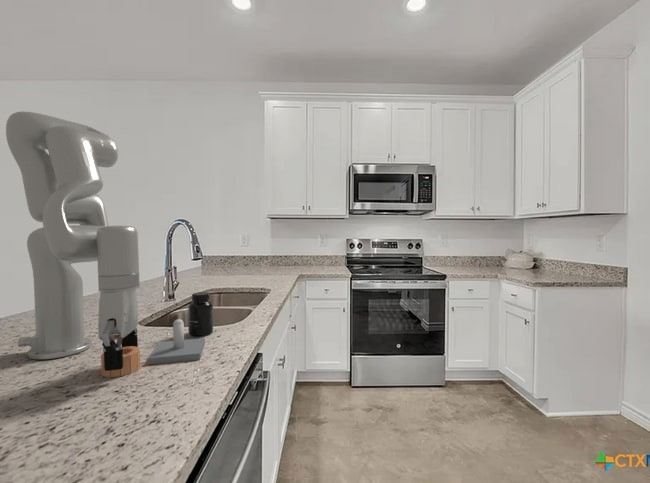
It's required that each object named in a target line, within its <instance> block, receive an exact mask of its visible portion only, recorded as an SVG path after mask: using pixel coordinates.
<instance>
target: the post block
mask: <svg viewBox="0 0 650 483" xmlns="http://www.w3.org/2000/svg"><path fill="white" fill-rule="evenodd" d="M172 328H173V330H172V332H173V333H172V337H173V338H172V339H173V340H167V341H160V342H159V343H158V344H157V346H155V348H154V350H153V351H152V353H151V354H150V355H149V357H148V360H147V361H148V362H147V363H148V364H147V365H148V366H149V365H150V366H151V365H159V364H160V365H161V364H168V363H169V364H170V363H179V362H188V361H189V362H191V361H198V360H201V358H202V354H203V351H204V347H205V345H206V339H205V338H191V339H190V338H189V339H185V323H184V321H183V320H182V319H180V318H178V319H175V320H174V321H173V323H172Z"/></svg>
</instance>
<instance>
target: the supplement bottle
mask: <svg viewBox="0 0 650 483" xmlns="http://www.w3.org/2000/svg"><path fill="white" fill-rule="evenodd" d="M210 299H211V298H210V292H208V291H207V292H206V291H200V292H198V291H197V292H194V293H192V294H191V301H192V302H190V303H189V305H188V306H187V307H188V311H187V312H188V314H187V316H188V318H187V319H188V320H187V321H188V324H187V325H188V326H187V327H188V335H189V336H190V337H193V338H200V337H206V336H210V335H211V334H212V333H213V332H214V304H213V303H212V301H210Z"/></svg>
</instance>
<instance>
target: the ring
mask: <svg viewBox="0 0 650 483" xmlns="http://www.w3.org/2000/svg"><path fill="white" fill-rule="evenodd" d="M120 349H123V368H122V369H119V370H110V371H105V369H104V352H103V353H102V354H101V355H100V366H101V367H100V370H101V373H100V374H101V375H102V377H105V378H119V377H123V376H127V375H130V374H133V373H134V372H137V371H138V370H139V369H140V368H141V348H140V347H139V346H138V347H135V346H126V347H122V346H121V348H120Z"/></svg>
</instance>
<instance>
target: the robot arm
mask: <svg viewBox="0 0 650 483" xmlns="http://www.w3.org/2000/svg"><path fill="white" fill-rule="evenodd" d="M5 136H6V137H5V138H6V140H7V141H6V142H7V145H8V148H9V150H10V153H11V155H12V156H13V159H14V160H15V162H16V164H17V166H18V168H19V170H20V173H21V179H22V184H23V189H24V193H25V199H26V204H27V207H28V208H27V209H28V211H29V212H28V213H29V214H30V216H31V217H32V219H34V220H35V221H36V222H39V223H42V227H39V228H37V229H35V230H33V231H32V232H31V233H29V235H28V237H27V241H26V247H27V252H28V256H29V259H30V264H31V268H32V277H33V292H34V294H33V295H34V319H35V321H34V322H35V324H34V325H35V335H33V336H29V335H28V336H20V337H19V338H18V343H17V345H18V347H19V348H20V347H29V348H30V349H29V350H28V352H27V357H28V358H29V359H32V360H50V359H58V358H63V357H64V358H65V357H68V356H72V355H76V354H78V353H81V352H84V351H86V350H88V349H90V348H91V346H92V343H93V342H92V341H93V340H92V339H91V338H87V337H85V321H84V320H85V319H84V318H85V316H84V288H83V286H84V284H83V279H82V276H81V274H79V272H77V270H76V269H75V268H74V267H73V266H72V264H78V263H90V262H97V279H98V280H97V281H98V292H99V293H100V295H99V303H98V321H97V322H98V323H97V324H98V327H97V328H98V333H97V334H98V336H97V337H98V339H99V340H101V341H102V344H101V345H102V347H103V348H102V351H103V353H104V369H105V371H110V370H119V369H122V368H123V349H120V348H121V347H126V346H135V347H138V348H139V345H138V344H139V343H138V342H139V340H138V328H137V327H138V323H139V309H138V298H137V297H138V295H137V289H139V288H141V287H140V284H141V283H140V266H139V264H140V263H139V235H138V230H137V229H136V227H134V226H131V225H109V222H108V218H107V212H106V207H105V204H104V201H103V199H102V198H101V196H100V195H99V192H101V191H102V190H103V186H104V182H103V180H102V177H101V173H100V171H99V169H100V167H101V168H111V167H113V166H114V165H115V164H116V163H117V162H118V160H119V159H118V158H119V153H118V152H119V151H118V147H117V144H116V143H115V141H114V139H113V138H112V137H110V136H109V135H108V134H105V133H104V132H101V131H99V130H97V129H95V128H93V127H91V126H88V125H85V124H82V123H79V122H78V123H77V122H74V121H70V120H66V119H62V118H59V117H54V116H52V115H49V114H42V113H37V112H31V111H17V112H13V113H11V115H9V117H8V118H7V120H6V125H5ZM46 150H47V151H48V152H47V151H46ZM70 224H72V225H70ZM73 224H74V225H73ZM76 224H77V225H76Z"/></svg>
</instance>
